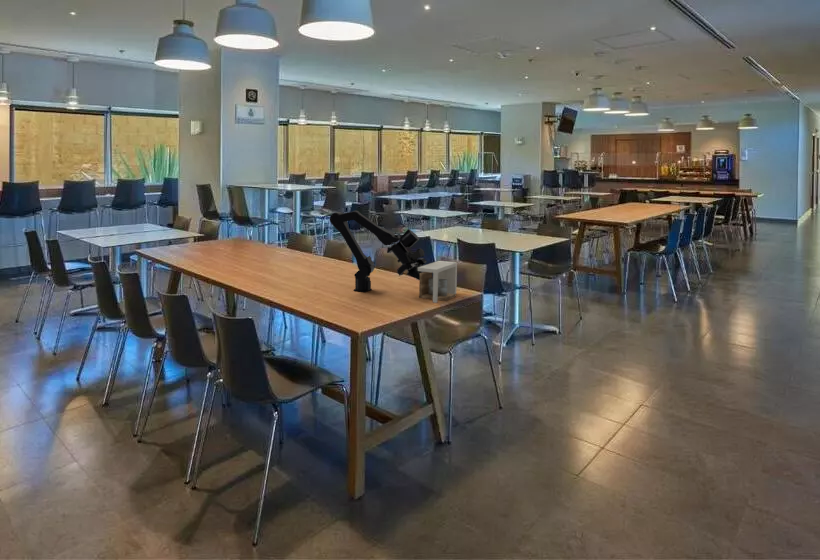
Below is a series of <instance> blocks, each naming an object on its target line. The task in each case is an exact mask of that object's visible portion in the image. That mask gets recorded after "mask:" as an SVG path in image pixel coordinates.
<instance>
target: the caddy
mask: <svg viewBox="0 0 820 560" xmlns="http://www.w3.org/2000/svg"><path fill="white" fill-rule="evenodd" d="M421 272H422V273H420V280H419V284H418V285H419V292H418V295H419V296H418V297H419V299H426V300H427V299H428V300H433V273H432V272H423V271H421ZM455 297H456V294H449V293H447V279H439V280H438V301H442V302H447V301H449V300H452V299H453V298H454V299H455Z"/></svg>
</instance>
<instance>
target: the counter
mask: <svg viewBox="0 0 820 560" xmlns="http://www.w3.org/2000/svg"><path fill="white" fill-rule="evenodd" d="M418 271H421V272H432V278H433V299H432V304H433V303H435V304H437V303H438V301H439V300H438V280H439V279H447V293H449V294H455V295H457V287H458V286H457V284H458V283H457V282H458V281H457V280H458V276H457V275H458V262H455V261H446V260H438V261H433V262H430V263H427V264H424V265H423V266H421V267H418Z"/></svg>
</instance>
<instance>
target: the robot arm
mask: <svg viewBox="0 0 820 560" xmlns="http://www.w3.org/2000/svg"><path fill="white" fill-rule="evenodd" d="M348 221H350V222H351V221H355V222H356V223H358V225H360V226H362V227H363V228H365V229H366V230H368V231H369V232H370V233H372V234H373V235H374V236H375V237H376V238H377V239H378V241H379V242H381V244H383V245H384V246H387V250H386V253H387V254H391V253H393V255H394V256H395V258H397V263H400V264H401V265H400V266H399V267H398V268H397V269H396V273H397V274H398V276H399V277H400V276H403V275H404V272H405V271H407V273H406V276H410V277H412V278H414V279H416V280H418V281H420V273H422V272H423V271H418V267H421V266H424V265H426V263H427V260H426V258H424V257H425V250H424V249H422V248H421V247H419V248H417V249H416V251H413V252H412V251H408V250H407V248H410V249H411V247H413V246H414V245H415V244H416V243H417V242H418V241H420V238H419V237H418V235H417V234H416V233H415V232H413V231H412V230H411V229H410V228H408V229H406V231H405V232H404V233H403V234H401V235H398V234H395V233H394V231H390V230H389V229H386V228H383V227H381V226H379V225H378V224H376V223H375V222H373V220H370V218H368V217H366V216H365V215H364V214H362V213H361V212H360V211H359V210H353V211H349V212H342V211H338V212H334V213H332V214H331V215H330V216H329V222H330V223H331V225H332V226H333V227H334V228H335V229H336V230H337V231H338V232H339V233H340V234H341V236H342V238H343V239H344V241H345V243H346V245H347V246H348V248H349V249H350V251H351V253H352V255H353V257H354V259H355V261H356V266H357V269H358V271H356V273H354V275H353V276H354V278H355V280H354V282H355V284H354V285H355V287H354V289H353V291H354V292H360V293H365V292H366V293H367V292H369V291H370V292H371V291H372V290H373V288H372V281H371V277H370V275H371V274H372V273H373V272H374V270H375V262H374V261H373V260H372V257H371V255H369V256H367V255H365V253H364V251H363V250H362V248H361V247H360V245H359V243H358V242H357V240H356V238H355V236H354V235H353V233H352V231H351V230H350V226H349V223H348ZM392 244H393V245H392ZM389 246H390V247H389Z"/></svg>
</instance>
